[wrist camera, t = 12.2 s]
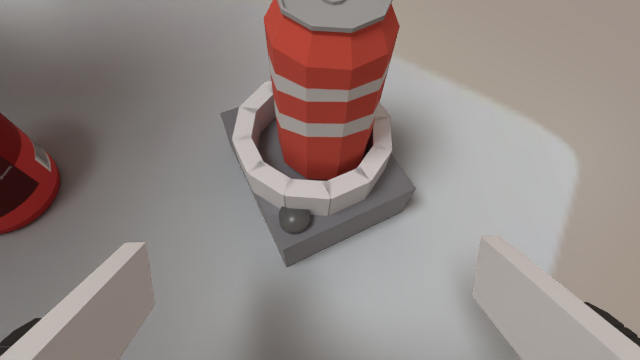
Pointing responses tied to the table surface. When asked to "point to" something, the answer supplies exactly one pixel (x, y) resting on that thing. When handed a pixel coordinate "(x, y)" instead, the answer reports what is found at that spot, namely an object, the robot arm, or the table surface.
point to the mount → (313, 182)
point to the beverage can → (328, 79)
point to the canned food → (24, 178)
